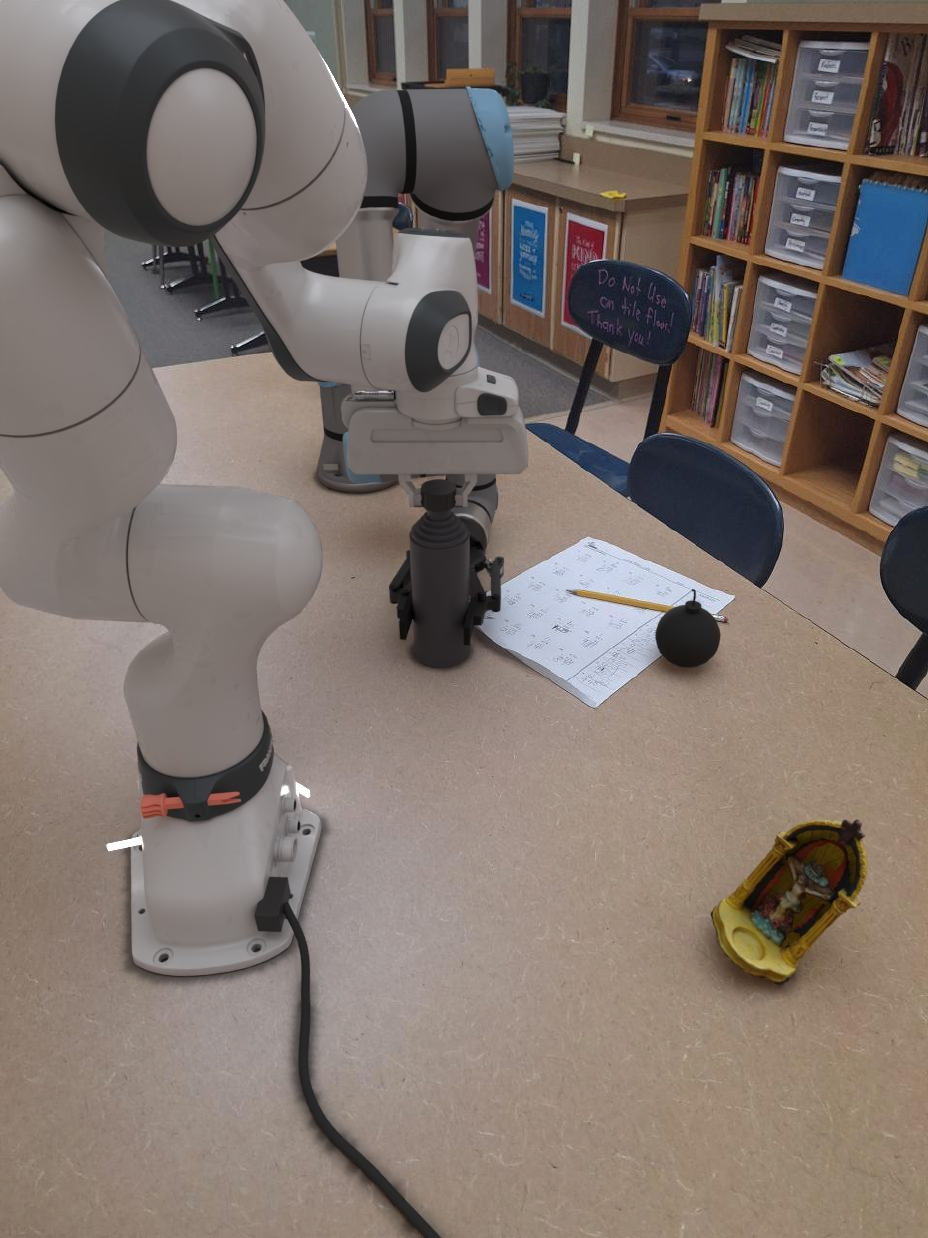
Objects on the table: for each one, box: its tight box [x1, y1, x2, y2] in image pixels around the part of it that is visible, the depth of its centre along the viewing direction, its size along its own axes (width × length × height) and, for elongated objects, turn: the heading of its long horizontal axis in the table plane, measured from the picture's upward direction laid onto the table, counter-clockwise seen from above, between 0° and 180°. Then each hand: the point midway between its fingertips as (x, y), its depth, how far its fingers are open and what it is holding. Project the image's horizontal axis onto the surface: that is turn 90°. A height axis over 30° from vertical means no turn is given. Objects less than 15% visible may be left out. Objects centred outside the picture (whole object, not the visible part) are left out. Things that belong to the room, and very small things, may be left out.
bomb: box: [654, 588, 722, 669], centre depth 107 cm, size 8×8×12 cm
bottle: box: [408, 510, 470, 669], centre depth 106 cm, size 7×7×23 cm
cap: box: [420, 478, 456, 512], centre depth 99 cm, size 4×4×2 cm
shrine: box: [710, 818, 868, 986], centre depth 72 cm, size 12×8×15 cm
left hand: (439, 505), depth 100 cm, fingers closed on cap, 4 cm apart
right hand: (434, 633), depth 105 cm, fingers closed on bottle, 7 cm apart
